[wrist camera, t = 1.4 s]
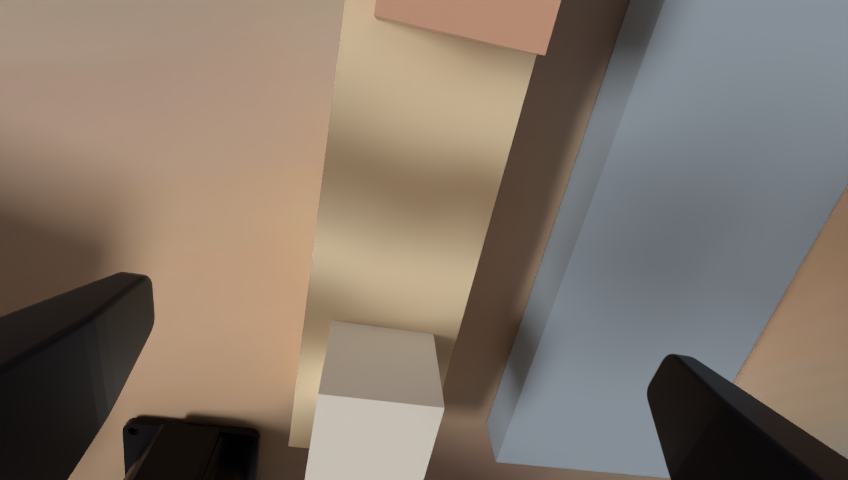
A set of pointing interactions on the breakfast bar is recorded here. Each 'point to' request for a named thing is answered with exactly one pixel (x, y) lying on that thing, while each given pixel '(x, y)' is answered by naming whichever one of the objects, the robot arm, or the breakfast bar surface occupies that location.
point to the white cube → (375, 405)
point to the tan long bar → (405, 186)
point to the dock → (676, 221)
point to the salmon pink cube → (478, 20)
